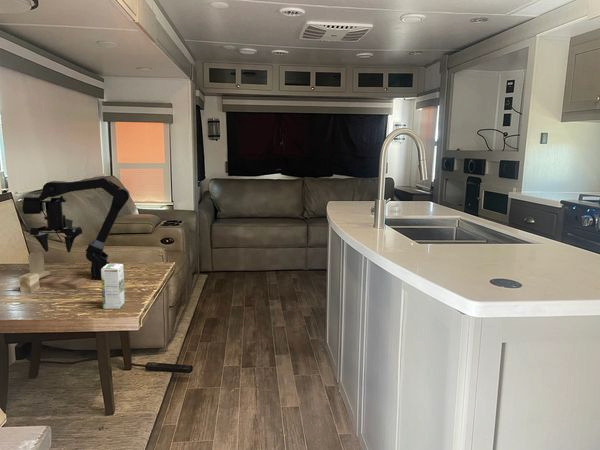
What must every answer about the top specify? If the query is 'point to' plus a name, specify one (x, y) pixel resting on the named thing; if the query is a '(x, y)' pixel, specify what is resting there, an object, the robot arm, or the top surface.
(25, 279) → the gauge
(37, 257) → the candle
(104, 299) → the syrup box
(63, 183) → the robot arm
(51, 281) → the board
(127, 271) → the top surface
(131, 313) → the top surface
